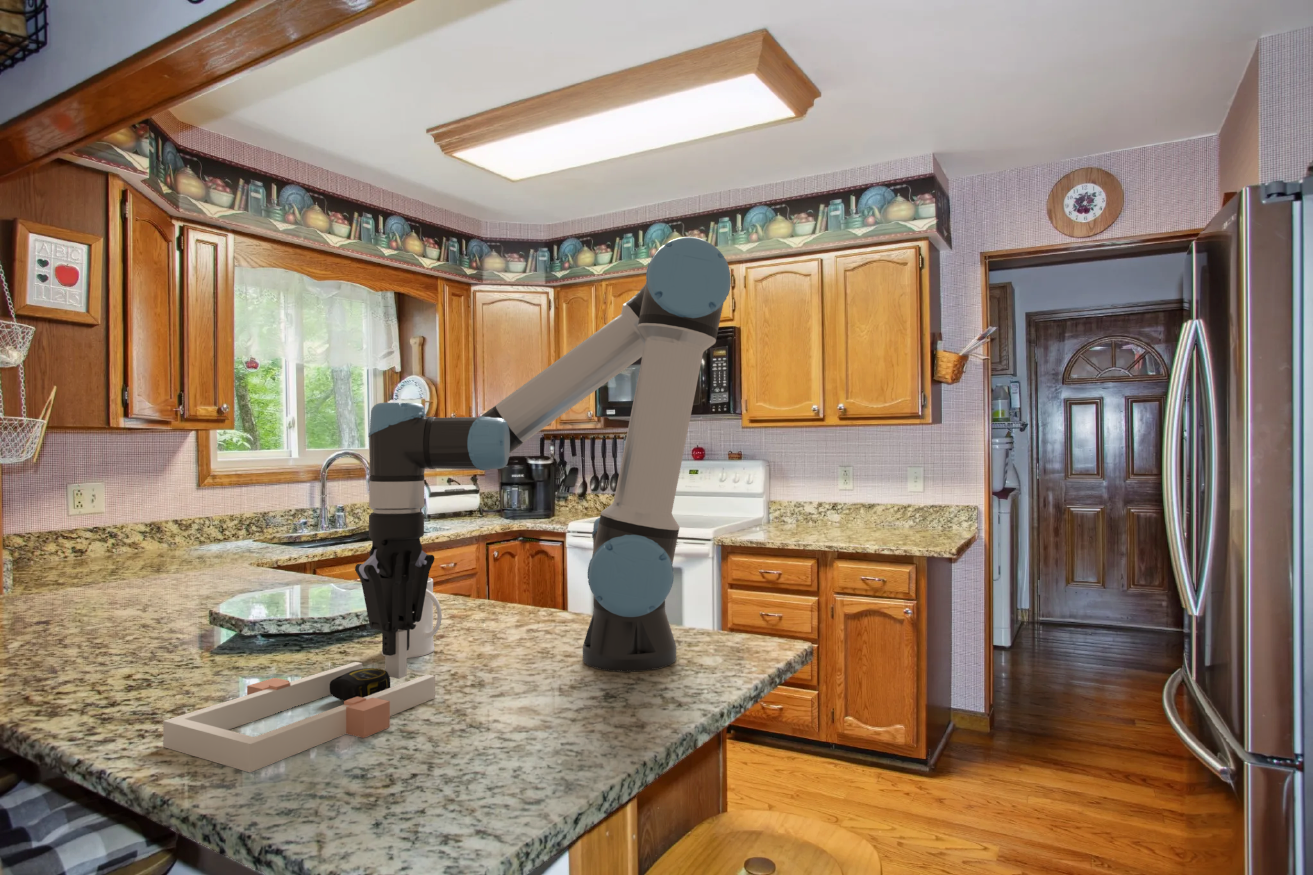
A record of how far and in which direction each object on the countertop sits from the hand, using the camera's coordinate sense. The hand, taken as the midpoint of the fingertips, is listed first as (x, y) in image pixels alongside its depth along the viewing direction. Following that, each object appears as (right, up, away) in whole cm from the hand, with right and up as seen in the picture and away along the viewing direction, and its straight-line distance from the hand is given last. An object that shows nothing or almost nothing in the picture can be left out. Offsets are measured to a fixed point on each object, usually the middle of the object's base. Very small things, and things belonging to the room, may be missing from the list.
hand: (395, 675), depth 111 cm
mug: (-3, -2, +19) cm, 19 cm away
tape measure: (-3, -2, -6) cm, 7 cm away
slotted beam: (-6, -2, -12) cm, 14 cm away
